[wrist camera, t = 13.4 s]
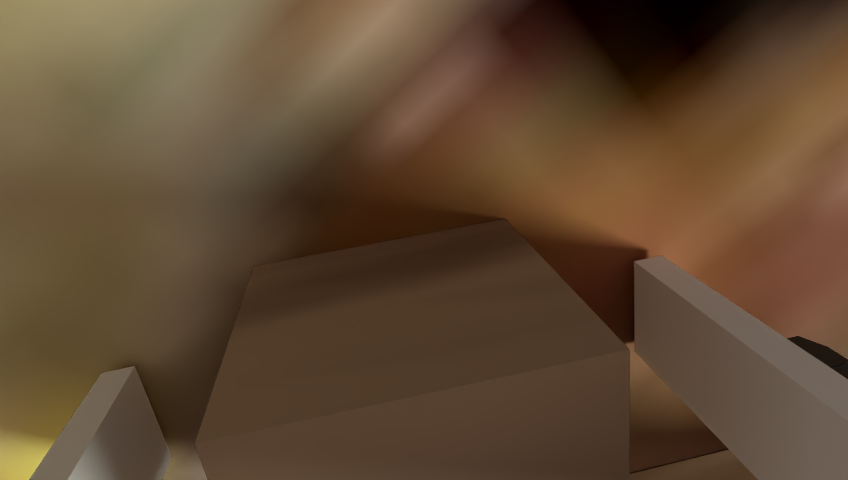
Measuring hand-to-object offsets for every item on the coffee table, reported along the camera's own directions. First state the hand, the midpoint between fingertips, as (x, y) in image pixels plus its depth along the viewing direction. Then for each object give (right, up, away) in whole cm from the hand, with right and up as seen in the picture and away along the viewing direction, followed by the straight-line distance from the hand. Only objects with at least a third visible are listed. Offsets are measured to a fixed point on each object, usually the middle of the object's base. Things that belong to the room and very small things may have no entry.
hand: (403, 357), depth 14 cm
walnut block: (0, 0, 0) cm, 0 cm away
